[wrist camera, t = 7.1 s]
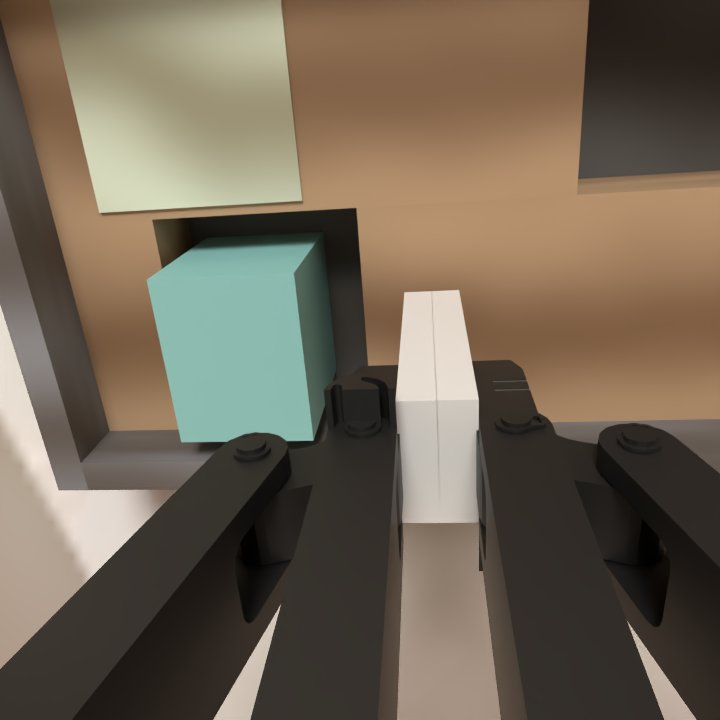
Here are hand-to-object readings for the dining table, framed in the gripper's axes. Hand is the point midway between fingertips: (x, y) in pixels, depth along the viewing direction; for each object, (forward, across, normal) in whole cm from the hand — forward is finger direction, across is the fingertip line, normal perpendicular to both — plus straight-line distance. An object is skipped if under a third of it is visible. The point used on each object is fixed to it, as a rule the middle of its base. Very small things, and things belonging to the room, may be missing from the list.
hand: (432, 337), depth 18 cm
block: (+2, -4, 0) cm, 4 cm away
